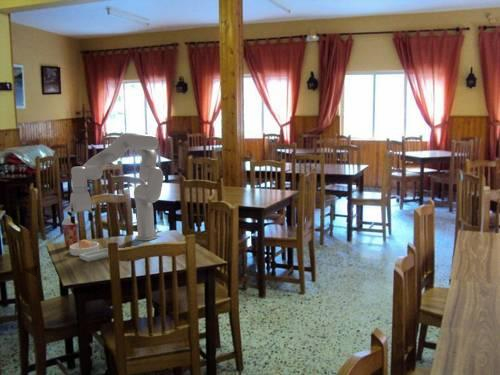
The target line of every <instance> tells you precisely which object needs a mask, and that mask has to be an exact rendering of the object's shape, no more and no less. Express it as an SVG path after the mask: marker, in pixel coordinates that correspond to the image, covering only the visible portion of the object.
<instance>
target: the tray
mask: <svg viewBox="0 0 500 375" xmlns="http://www.w3.org/2000/svg"><path fill="white" fill-rule="evenodd" d="M108 248H109V247H106V248H101V249H100V248H99V250H96V251H92V252H87V253H83V254H79V259H81V260H82V261H85V262H88V263H89V262H94V261H97V260H98V261H99V260H102V259H105V258H106V259H107V258H109V257H108Z"/></svg>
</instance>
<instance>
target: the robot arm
mask: <svg viewBox="0 0 500 375" xmlns="http://www.w3.org/2000/svg"><path fill="white" fill-rule="evenodd" d="M159 143H160V142H159V138H158V137H157V136H155V135H154V134H147V133H146V134H141V133H132V132H125V133H122V134H120V135H119V136H118V137H117V138H115V139H114V140H113V141H112V143H111V144H109V145H108V146H107V147H106V148H105V149H103V150H101V151H100V152H98V153H97V154H95V155H93V156H91V157H90V158H89V159H88V160H87V161H86V162H84V164H83V165H82V166H81V165H80V166H73V167H72V168H71V171H70V172H71V173H70V174H71V186H72V187H71V188H72V192H71V193H70V198H69V205H68V206H66V207H65V208H64V211H65V213H66V214H67V215H68V216H70V219H71V223H72V224H75V218H76V217H75V214H76V213H81V212H82V213H83V212H88V213H87V219H88V221H90V222H92V221H93V220H94V218H93V216H94V215H93V214H94V212H95V210H96V208H97V207H98V206H97V204H96V203H94V202H92V200H91V195H90V192H89V190H90V188H91V187H90V186H88V180H95V181H96V180H98V179H100V178H101V177H103V174H104V171H103V168H102V167H103V166H105V165H108V164H111V163H115V162H117V161H118V160H119V159H120V158H121V157H122V156H123V155H124V154H126V153H127V151H129V150H130V149H131V150H139V151H140V155H141V160H140V161H141V162H140V167H139V171H138V172H139V173H138V176H139V179H140V180H141V181H142V182H144V183H145V184H144V183H140V184H138V185H136V187H135V188H134V190H133V196H134V201H135V207H136V225H137V226H136V228H137V234H136V236H135V240H137V241H152V240H155V239H158V235H157V234H159V233H162V229H161V228H159V229H156V228H155V217H154V207H153V206H154V205H153V203H156V202H158V201H159V199H160V197H161V193H162V188H163V183H164V172H163V170H162V168H160V167H158V166H157V161H158V160H157V159H158V156H157V151H156V149H157V148H158V147H159Z"/></svg>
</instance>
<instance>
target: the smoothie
mask: <svg viewBox="0 0 500 375" xmlns="http://www.w3.org/2000/svg"><path fill="white" fill-rule="evenodd" d="M61 226H62V233H63V237H64V238H63V239H64V245H65V247H66V248H67V249H70V245H72V244H75V243H79V221H78V220H77V218H76V217H75V224H72V223H71V219H70V216H69V215H68V216H65V217H64V219H63V220H62V223H61Z"/></svg>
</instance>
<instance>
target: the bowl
mask: <svg viewBox="0 0 500 375" xmlns="http://www.w3.org/2000/svg"><path fill="white" fill-rule="evenodd" d="M89 242H90V248H83V249H79V242H78V243H75V244H72V245H70V248H69V254H70V255H72V256H79V254H83V253H87V252H92V251H96V250H100V242H96V241H89ZM79 257H80V256H79Z"/></svg>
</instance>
